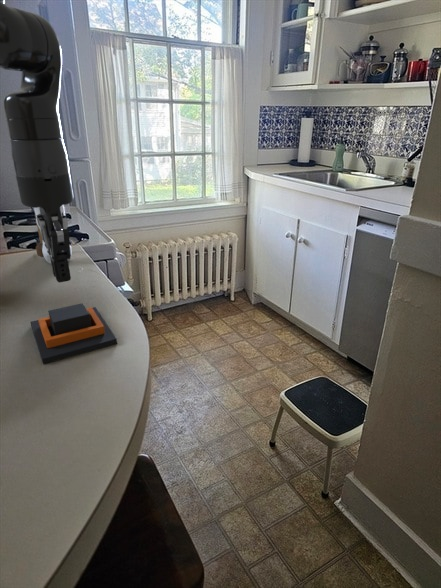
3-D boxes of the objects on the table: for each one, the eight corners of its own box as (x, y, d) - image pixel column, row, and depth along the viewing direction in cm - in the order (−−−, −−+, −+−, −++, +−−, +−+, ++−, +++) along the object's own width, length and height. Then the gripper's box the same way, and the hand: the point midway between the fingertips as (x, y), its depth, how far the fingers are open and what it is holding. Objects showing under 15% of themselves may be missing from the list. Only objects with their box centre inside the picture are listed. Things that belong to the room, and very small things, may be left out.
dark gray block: (56, 340, 67) (53, 322, 65) (51, 327, 70) (48, 310, 69) (92, 331, 69) (89, 314, 68) (85, 319, 73) (82, 302, 72)
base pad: (43, 364, 62) (40, 351, 61) (31, 326, 73) (28, 314, 72) (117, 343, 68) (115, 331, 67) (96, 311, 78) (94, 300, 77)
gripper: (10, 167, 62) (32, 269, 69) (20, 179, 51) (45, 298, 58) (60, 164, 65) (76, 262, 73) (79, 175, 55) (95, 288, 62)
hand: (62, 278), depth 66 cm, fingers closed
